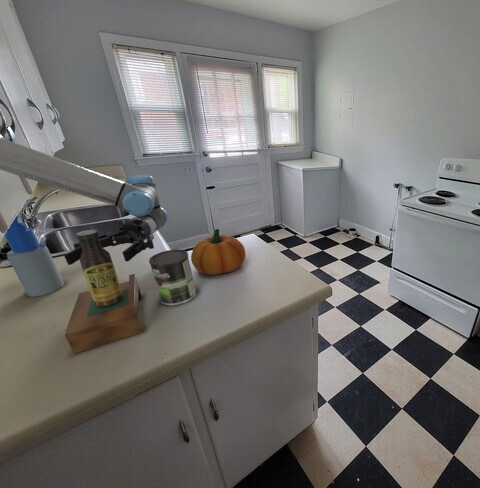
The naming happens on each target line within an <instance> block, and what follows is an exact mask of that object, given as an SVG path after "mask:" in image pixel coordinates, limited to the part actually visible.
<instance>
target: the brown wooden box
mask: <svg viewBox="0 0 480 488" xmlns="http://www.w3.org/2000/svg"><path fill="white" fill-rule="evenodd" d="M119 284H120V288H121V291H122V298H121V300H120V301H118V302H116V303H114V304H112V305H109V306H103V307H101V306H100V307H99V306H96V305H95V302H94V301H93V299H92V296H91V293H90V290H86V291H81V292H79V293H78V295H77V298H76V301H75V303H74V307H73V309H72V312H71V315H70V318H69V320H68V324H67V326H66V329H65V332H64V337H65V338H66V340H67V343H68V345H69V346H70V348H71V351H72V353H73V354H74V355H76V354H79V353H82V352H86V351H89V350H92V349H95V348H98V347H101V346H104V345H107V344H110V343H113V342H117V341H120V340H123V339H126V338H129V337H132V336H134V335H138V334H141V333H144V327H143V324H142V321H141V318H140V315H139V299H141V298H142V299H143V294H142V290H141V288H140V285H139V282H138V279H137V275H136V273H132V274H129V275H128V281H124V282H119Z"/></svg>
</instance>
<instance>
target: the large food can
mask: <svg viewBox="0 0 480 488" xmlns="http://www.w3.org/2000/svg"><path fill="white" fill-rule="evenodd" d="M148 262H149V265H150V269H151V271H152V274H153V278H154V281H155V284H156V288H157V291H158V295H159V298H160V302H161V304H162V305H164V306H169V307H170V306H171V307H172V306H178V305H182V304H185V303H187V302H189V301H191V300H192V299H193V298H195V297H196V295H197V289H196V285H195V281H194V277H193V272H192V267H191V263H190V259H189V252H188V251H186V250H184V249H168V250H164V251H161V252H158V253H156V254H153V255H152V256H151V257H149V259H148Z"/></svg>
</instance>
